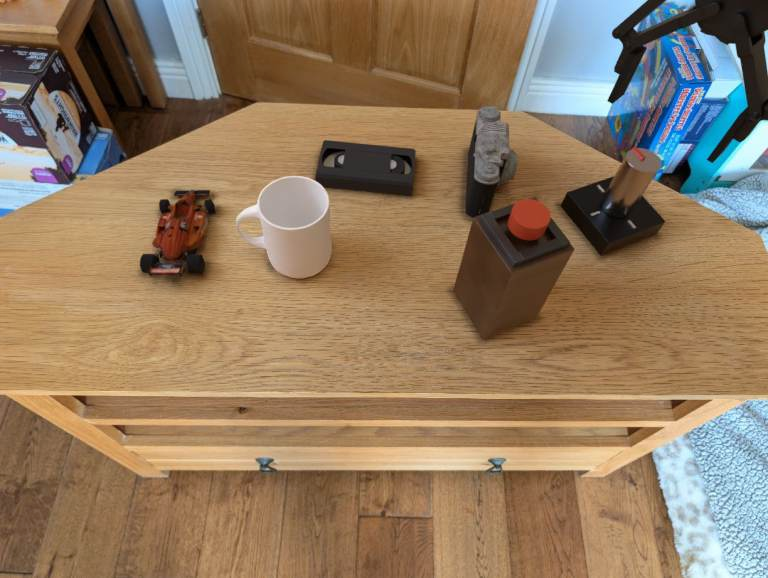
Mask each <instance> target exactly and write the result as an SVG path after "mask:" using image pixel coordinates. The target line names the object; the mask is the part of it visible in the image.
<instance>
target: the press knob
mask: <svg viewBox="0 0 768 578" xmlns="http://www.w3.org/2000/svg"><path fill="white" fill-rule="evenodd" d="M515 203H516V204H515ZM515 203H514V204H515V205H514V206H513V208H512V211H511V214H510V217H509V219H508V227H509V229H510V231H511V232H512V233H513V234H514V235H515V236H516V237H518V238H520V239H523V240H536V239H539V238H540V237H542V236H543V234H544V233H545V230H546V228H547V226H548V224H549V222H550V219H551V218H552V215H551V211H550V210H549V208H548V207H547V205H545V204H544V203H543V202H540V201H539V200H538V201H536V200H532V199H529V198H524V199H521V200H518V201H517V202H515Z"/></svg>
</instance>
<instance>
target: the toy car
mask: <svg viewBox="0 0 768 578" xmlns="http://www.w3.org/2000/svg"><path fill="white" fill-rule="evenodd" d="M210 193H211V190H210V189H197V190H194V189H191V190H175V192H174V194H173V196H174V197H180V196H181V198H179V199H178V200H176V201H175V203H174V204H173V205H172V204H171V203H170V200H169V199H168V198H163V199H161V198H160V199H159V203H158V207H159V212H160V214H161V215H160V217H159V218H158V219H159V220H158V222H157V226H156V229H155V230H156V231H155V238H154V239H153V240H152V243H151V245H152V246H153V247H154V248H159V249H160V251H159V253H156V252H155V253H143V254H142V255H141V256H140V259H139V267H140V270H141V272H142V273H143V274H148V275H149V276H150V277H151V276H152V275H168V276H171V277H172V276H176V275H179V276H180V277H182V275H183V273H184V269H186V270H187V273H188V274H189V275H203V273H204V272H205V269H206V261H205V257H204V256H203V254H197V251H198V248H199V246H201V245H203V244H204V243H205V242H206V239H207V237H206V236H207V235H206V233H207V228H208V224H209V223H208V222H209V217H208V215H213V214H216V213H217V209H216V205H215V202H214V201H213V199H212V198H207V199H204V201H203V202H204V205H201V204H196V196H200V197H201V196H210ZM203 207H205V209H206V211H207V213H206V212H203V211H200V210H201V209H202V208H203ZM207 214H208V215H207ZM163 256H164V258H166V259H167V260H169V261H167V262H164V263H162V262H160V261H161V260H160V259H162V257H163ZM184 256H185V258H186V262H185V259H182V258H183V257H184Z"/></svg>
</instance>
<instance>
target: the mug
mask: <svg viewBox="0 0 768 578" xmlns="http://www.w3.org/2000/svg"><path fill="white" fill-rule="evenodd" d="M251 219H254V220H259V222H260V226H261V231H262V235H261V236H251V235H248V234H246V233H245V232H243V231H242V229H241V224H242V223H243V222H244V221H246V220H251ZM331 221H332V220H331V204H330V196H329V194H328V192H327V190H326V188H325V187H323V186H322V185H321V184H319V183H318V182H316V181H315V179H312V178H310V177H306V176H302V175H287V176H282V177H280V178H277V179H274V180H272V181H271V182H269V183H268V184H266V186H264V187H263V189H262V190H261V191H260V193H259V195H258V197H257V201H256V204H254V205H250V206H248V207H247V208H245V209H243V210H242V211H241V212H240V213H239V214H238V215H237V217H236V220H235V226H236V227H235V228H236V230H237V232H238V234H239V236H240V237H241V239H243V240H244V241H245V242H247V244H249V245H251V246H253V247H255V248H258V249H261V250H265V251H266V254H267V258H268V260H269V263H270V264H271V266H272V267H273V269H274V270H276V272H278V273H279V274H281V275H282V276H284V277H287V278H292V279H307V278H310V277H313V276H315V275H317V274H319V273H321V272H322V271H323V270H324V269H325V268H326V267H327V265H328V264H329V263H330V260H331V257H332V253H333V242H332V241H333V240H332V225H331Z"/></svg>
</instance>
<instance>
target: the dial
mask: <svg viewBox="0 0 768 578" xmlns="http://www.w3.org/2000/svg"><path fill="white" fill-rule="evenodd" d="M661 165H662V161H661V159H660V158H659V156H658V155H657V154H656V153H655V152H653V151H651V150H649V149H647V148H643V147H637V146H633V147H632V148H631V149H629V150H628V152H627V153H626V154H625V157H624V158H623V160H622V162H621V164H620V165H619V167H618V169H617V171H616V173H615V174H614V175H613V176H614V178H613V180H612V181H611V183H610V185H609V187H608V189H607V190H606V192H605V194H604V196H603V198H602V199H601V207H602V209H603V210H604V212H606V213H607V214H608V215H610V216H612V217H615V218H624V217H627V216H629V215H630V214H631V212H632V210H633V209H634V207H635V206H636V204H637V203H638V201H639V200H640V198H641V196H644V195H643V194H645V192H646V190H647V188H648V187H649V185H650V184H651V182H652V181H653V179H654V178H655V176H656V175H657V173H658V171H659V170H660V168H661V167H662V166H661Z"/></svg>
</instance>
